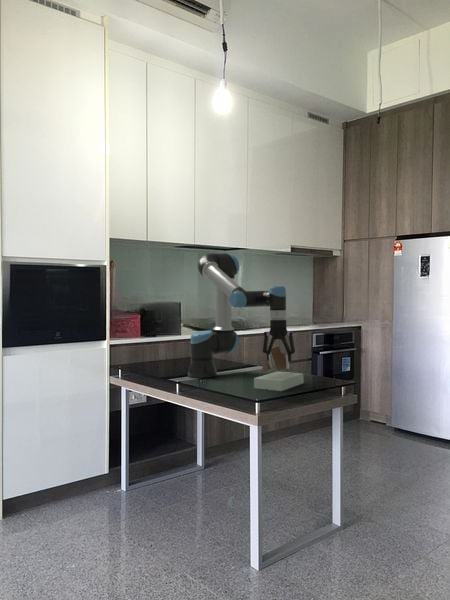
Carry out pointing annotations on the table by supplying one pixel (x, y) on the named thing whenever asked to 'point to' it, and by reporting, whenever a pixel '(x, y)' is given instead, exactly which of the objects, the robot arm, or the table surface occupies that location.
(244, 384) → the table surface
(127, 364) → the table surface
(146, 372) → the table surface
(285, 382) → the sage base block
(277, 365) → the wooden block set
